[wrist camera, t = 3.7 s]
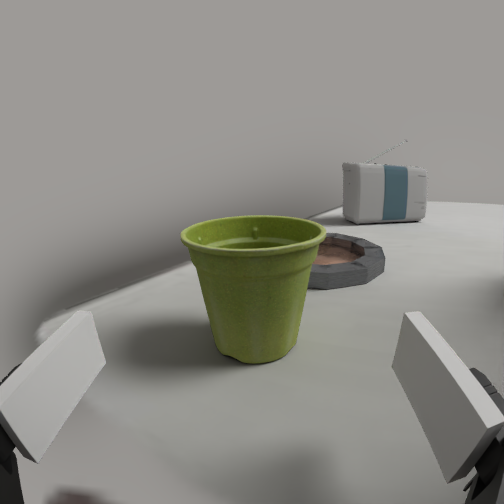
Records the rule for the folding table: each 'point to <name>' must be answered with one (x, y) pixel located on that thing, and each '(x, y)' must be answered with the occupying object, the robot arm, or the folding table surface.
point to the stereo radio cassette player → (383, 192)
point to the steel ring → (345, 262)
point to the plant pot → (254, 280)
